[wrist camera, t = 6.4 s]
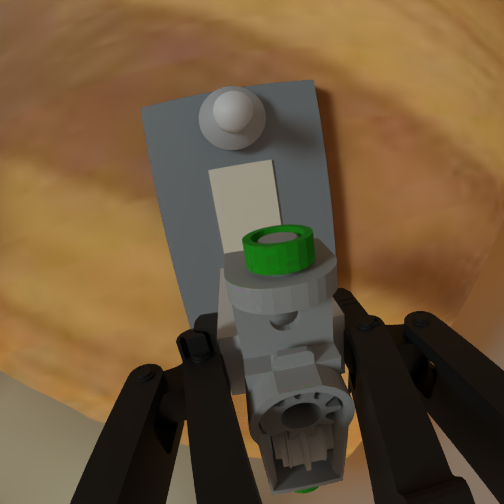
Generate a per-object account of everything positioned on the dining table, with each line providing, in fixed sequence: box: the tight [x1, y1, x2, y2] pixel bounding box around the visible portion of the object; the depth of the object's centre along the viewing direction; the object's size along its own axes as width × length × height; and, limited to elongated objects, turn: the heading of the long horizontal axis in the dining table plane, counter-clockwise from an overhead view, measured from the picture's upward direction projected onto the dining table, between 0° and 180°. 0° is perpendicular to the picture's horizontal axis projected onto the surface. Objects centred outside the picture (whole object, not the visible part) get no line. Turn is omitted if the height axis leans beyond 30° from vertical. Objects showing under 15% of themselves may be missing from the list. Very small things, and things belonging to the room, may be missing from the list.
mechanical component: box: [224, 224, 355, 495], centre depth 12 cm, size 3×10×10 cm, turn 9°
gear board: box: [141, 80, 338, 329], centre depth 24 cm, size 24×14×8 cm, turn 9°
